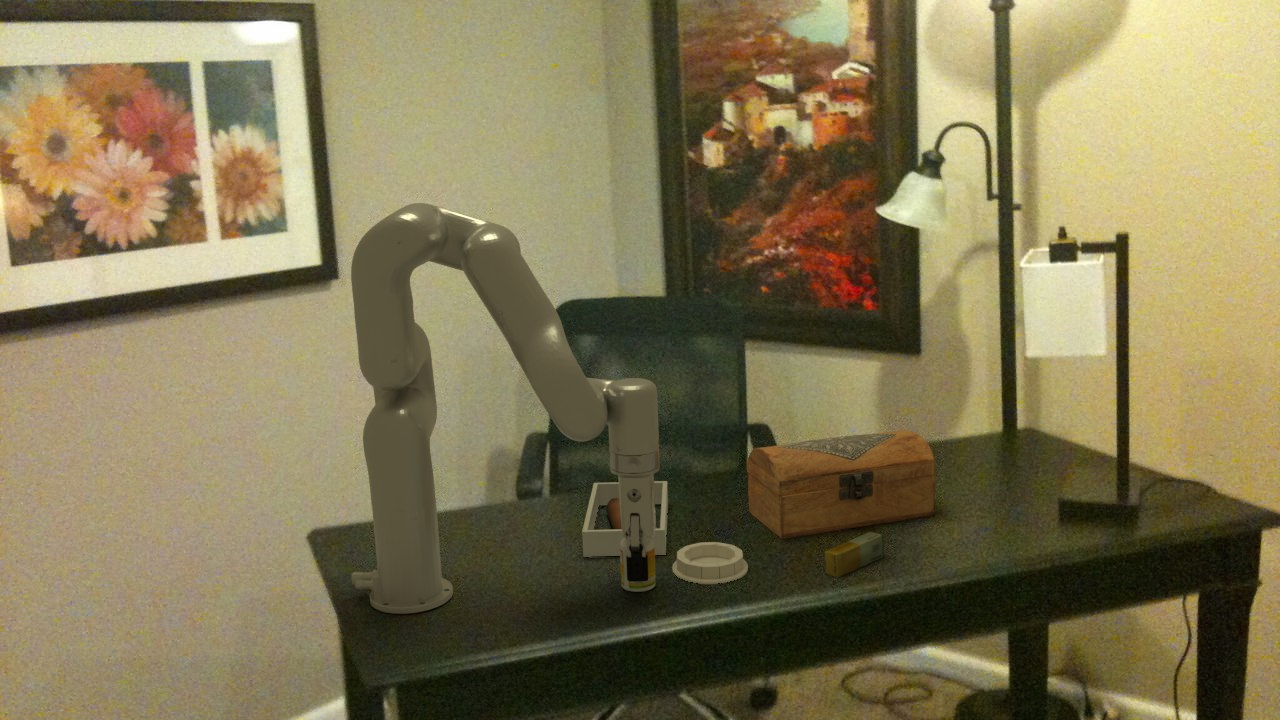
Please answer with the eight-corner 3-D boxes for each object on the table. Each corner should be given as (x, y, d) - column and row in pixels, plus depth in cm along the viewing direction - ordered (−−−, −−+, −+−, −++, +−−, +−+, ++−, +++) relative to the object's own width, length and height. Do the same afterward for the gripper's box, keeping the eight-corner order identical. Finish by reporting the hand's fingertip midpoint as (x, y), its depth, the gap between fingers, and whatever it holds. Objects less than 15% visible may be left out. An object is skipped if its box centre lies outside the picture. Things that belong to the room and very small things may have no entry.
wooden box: (781, 542, 202) (780, 463, 199) (746, 511, 218) (744, 438, 215) (940, 519, 210) (942, 443, 207) (895, 491, 226) (896, 420, 223)
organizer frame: (583, 557, 198) (582, 531, 197) (594, 505, 223) (593, 482, 222) (665, 555, 198) (664, 530, 197) (667, 504, 223) (667, 481, 222)
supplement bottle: (663, 584, 186) (661, 525, 184) (638, 595, 182) (636, 535, 180) (638, 576, 190) (636, 517, 188) (613, 586, 186) (611, 527, 184)
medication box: (871, 553, 196) (871, 530, 195) (885, 557, 194) (884, 533, 193) (824, 574, 188) (823, 550, 188) (837, 578, 186) (837, 554, 186)
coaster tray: (672, 585, 186) (671, 569, 185) (672, 556, 197) (672, 541, 197) (749, 583, 185) (749, 567, 185) (745, 554, 197) (745, 539, 196)
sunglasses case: (669, 544, 203) (648, 513, 201) (634, 567, 202) (613, 537, 201) (651, 509, 220) (631, 481, 218) (619, 531, 220) (599, 503, 218)
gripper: (658, 477, 173) (661, 594, 177) (660, 443, 190) (664, 551, 194) (606, 478, 173) (611, 595, 177) (613, 444, 190) (617, 552, 194)
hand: (638, 571), depth 185 cm, fingers closed on supplement bottle, 5 cm apart
